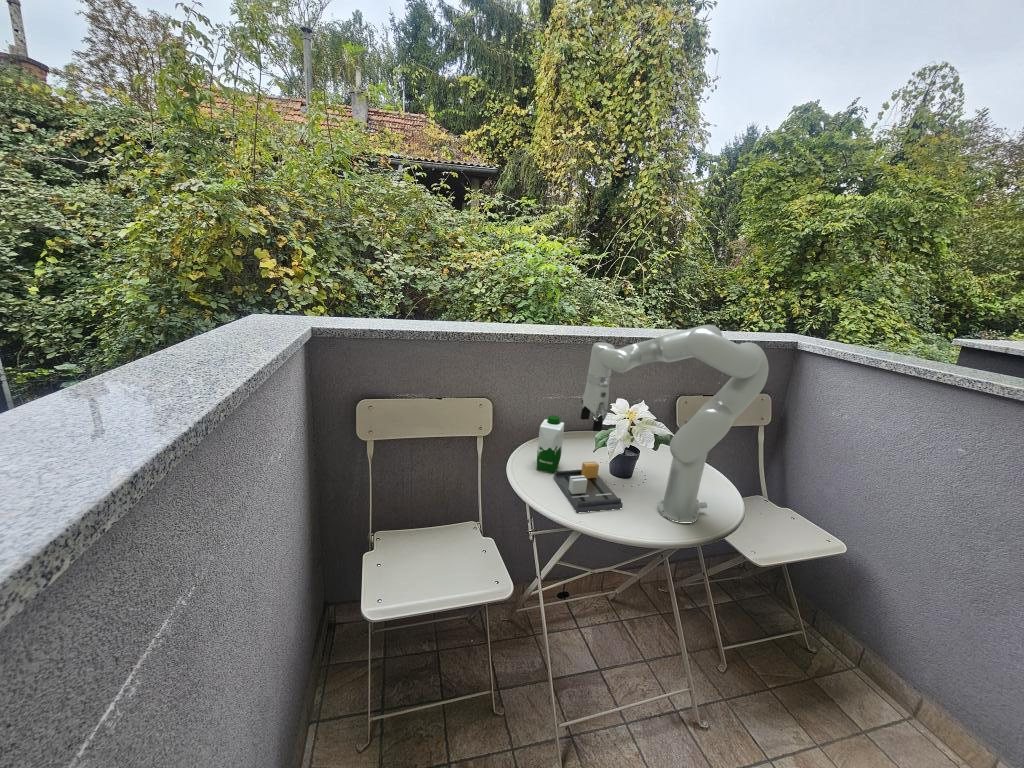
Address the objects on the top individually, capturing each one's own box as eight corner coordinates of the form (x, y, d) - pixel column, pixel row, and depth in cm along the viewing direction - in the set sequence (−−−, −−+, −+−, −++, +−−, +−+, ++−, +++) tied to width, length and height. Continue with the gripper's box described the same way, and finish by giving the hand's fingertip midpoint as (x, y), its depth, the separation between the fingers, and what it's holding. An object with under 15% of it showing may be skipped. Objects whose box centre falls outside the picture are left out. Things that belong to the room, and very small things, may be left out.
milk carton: (561, 465, 171) (566, 417, 165) (556, 475, 163) (562, 425, 157) (539, 460, 174) (544, 413, 168) (533, 470, 166) (538, 421, 160)
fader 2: (593, 473, 162) (595, 460, 160) (597, 477, 159) (599, 464, 158) (581, 474, 161) (582, 461, 159) (584, 478, 158) (586, 465, 156)
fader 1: (582, 488, 151) (583, 474, 150) (585, 493, 149) (587, 479, 147) (568, 489, 150) (570, 475, 149) (571, 494, 147) (573, 480, 146)
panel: (593, 475, 165) (594, 467, 164) (622, 508, 145) (623, 500, 144) (553, 478, 161) (554, 470, 160) (577, 513, 141) (578, 504, 140)
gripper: (620, 387, 144) (611, 435, 149) (596, 371, 159) (589, 414, 165) (600, 387, 142) (591, 435, 147) (577, 371, 157) (571, 415, 163)
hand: (590, 424), depth 156 cm, fingers open, 9 cm apart
